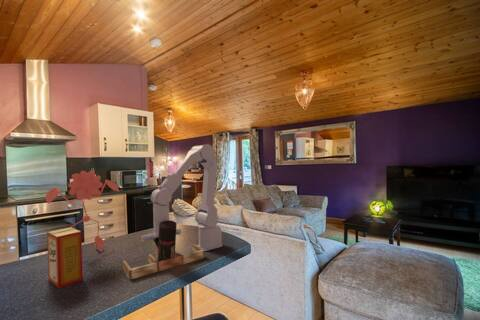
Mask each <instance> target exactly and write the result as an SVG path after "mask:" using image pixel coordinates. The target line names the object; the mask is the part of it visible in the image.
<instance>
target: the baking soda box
mask: <svg viewBox="0 0 480 320" xmlns="http://www.w3.org/2000/svg"><path fill="white" fill-rule="evenodd" d="M46 234H47V265H48V267H47V268H48V281H50V283H52V284H53V285H54V286H55V287H56V288H58V289H60V288H64V287H66V286H69V285H72V284H75V283H78V282H80V281H83V279H84V278H83V275H84V273H83V249H82V247H83V246H82V243H83V241H82V231H81V230H78V229H75V228H74V227H67V228H62V229H61V228H60V229H56V230H51V231H47V233H46Z"/></svg>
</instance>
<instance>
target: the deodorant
mask: <svg viewBox="0 0 480 320" xmlns="http://www.w3.org/2000/svg"><path fill="white" fill-rule="evenodd" d="M177 224H178V223H177V222H176V221H175V220H170V219H169V220H167V221H163V222H161V223H160V224H159V243H158V248H157V261H158V262H159V261H163V260H166V259H170V258H174V257H175V250H176V244H177V243H176V241H177V235H176V229H177Z"/></svg>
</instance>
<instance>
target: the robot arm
mask: <svg viewBox="0 0 480 320" xmlns="http://www.w3.org/2000/svg"><path fill="white" fill-rule="evenodd" d="M195 163H200V165H201V166H202V167H203V180H202V191H201V201H200V202H201V203H200V204H199V205H198V207H197V210H196V211H197V212H196V213H195V216H194V220H195V222H196V223H197V227H198V244H196V245H197V246H199V247H201V248H202V249H204V250H205V252H207V251H210V250H215V249H218V248H221V247H223V246H224V245H223V241H222V240H223V239H222V237H223V236H222V229H221V226H220V225H219V224H218V222H219V215H218V209H217V207H216V206H215V196H216V195H215V194H216V184H217V183H216V181H217V173H218V172H217V171H218V162H217V158H216V150H215V149H214V148H213V146H212V145H211V144H201V145H194V146H192V147H191V149H190V150H189V151H187V154H186V156H185V157H184V158H183V159H182V161H181V163H180V164H179V166H178V167H177V169H176V170H175V171H174V172H170V173H169V174H166V175H165V177H164V178H165V179H164V180H163V181H162V183H161V184H159V185H158V186H157V188H156V189H155V190H153V191H152V192H151V196H150V197H149V199H150V202H151V203H152V212H153V213H152V214H153V232H150V233H147V234H143V235H141V239H140V240H141V242H142V243H146V242H147V241H153V242H154V243H155V246H156V247H157V249H158V243H159V224H160V223H161V222H163V221H167V220H170V203H171V201H172V199H173V194H174V193H175V192H176V190H177V189H178V188H179V186H180V185H181V184H182V182H183V181H182V177H183V176H184V175H185V174H186V173H187V171H189V169H190V168H191V167H192V166H193V165H194V164H195ZM177 235H179V236H180V235H182V229H180V228H176V236H177Z"/></svg>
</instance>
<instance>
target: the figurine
mask: <svg viewBox="0 0 480 320" xmlns="http://www.w3.org/2000/svg"><path fill="white" fill-rule="evenodd" d="M101 178H102V177H101V176H100V175H96V173H95V170H93V169H91V170H89V171H88V172H87V171H85V170H81V171H80V173H73V174H72V175H71V179H72V181H70V182H69V183H68V184H67V185H68V187H69V188H70V189H69V191H68V194H69V195H70V196H76V198H75V199H71V200H69V199H68V197H65V196H64V194H63V193H62V192H61V191H59V189H58V188H57V187H56V186H54V187H53V188H51V189H50V190H48V192H47V193H46V194H45V201H46V203H47V204H50V203H52V202H53V201H54V200H56V198H57V197H58V196H59V195H60V196H61V197H62V198H63V199H65V200H66V201H67V202H68V203H73V202H74V201H75V202H76V201H82V207H83V210H84V214H85V215H84V216H83V217H82V220H80V221H78V222H77V223H74V224H73V225H70V227H71V228H73V227H74V226H76V225H78V224H80V223H82V222H85V223H87V222H90V221H92V222H96V223H97V235H95V237H94V244H95V246H94V249H95V250H96V249H97V248H99V249H100V250H103V251H105V242H104V240H103V239H102V237H100V236H99V235H100V234H99V229H100V228H99V227H100V225H99V224H100V222H99V221H98V220H95V219H93V218H91V216H90V215H88V214H87V210H86V206H85V200H89V201H90V200H92V199H93V198H100V196H101V195H102V193H103V190H104V188H105V186H106V185H107V186H108V188H110V189H111V190H113V191H114V192H118V193H119V192H120V189H119V187H118V185H117V183H115V182H113V181H112V180H109V179H105V182H104V184H103V182H102V181H101ZM100 188H101V189H100ZM70 227H69V228H70ZM112 253H113V254H114V251H112V252H111V254H112ZM107 256H108V255H105V256H102V257H99V258H95V259H94V260H99V259H102V258H105V257H107ZM92 261H93V259H92V260H90V262H92ZM88 262H89V260H85V263H88Z"/></svg>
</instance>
